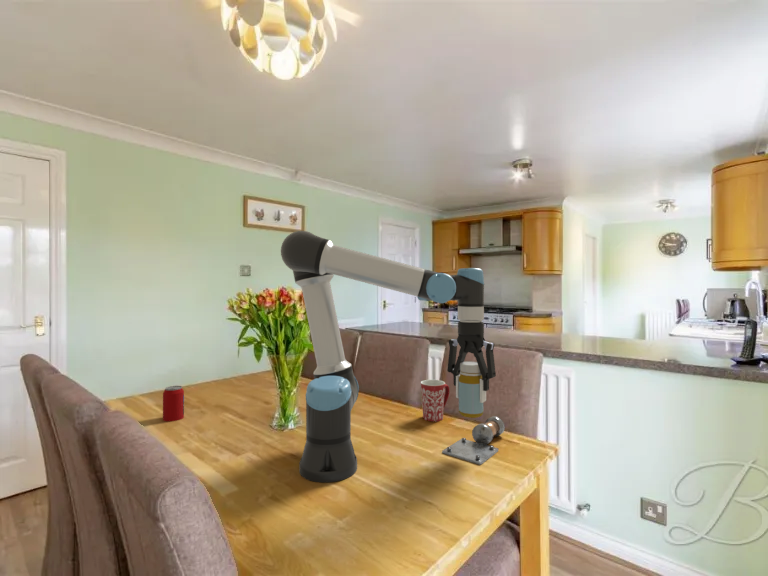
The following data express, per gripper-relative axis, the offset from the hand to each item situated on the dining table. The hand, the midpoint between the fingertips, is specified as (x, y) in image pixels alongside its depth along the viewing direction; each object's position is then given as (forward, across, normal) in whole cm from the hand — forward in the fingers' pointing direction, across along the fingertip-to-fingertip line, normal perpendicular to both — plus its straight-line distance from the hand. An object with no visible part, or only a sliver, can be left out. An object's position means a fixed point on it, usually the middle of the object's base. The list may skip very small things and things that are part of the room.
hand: (470, 399), depth 116 cm
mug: (+16, +24, -20) cm, 35 cm away
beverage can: (+15, +96, +43) cm, 106 cm away
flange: (+16, 0, 0) cm, 16 cm away
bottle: (+5, 0, 0) cm, 5 cm away
